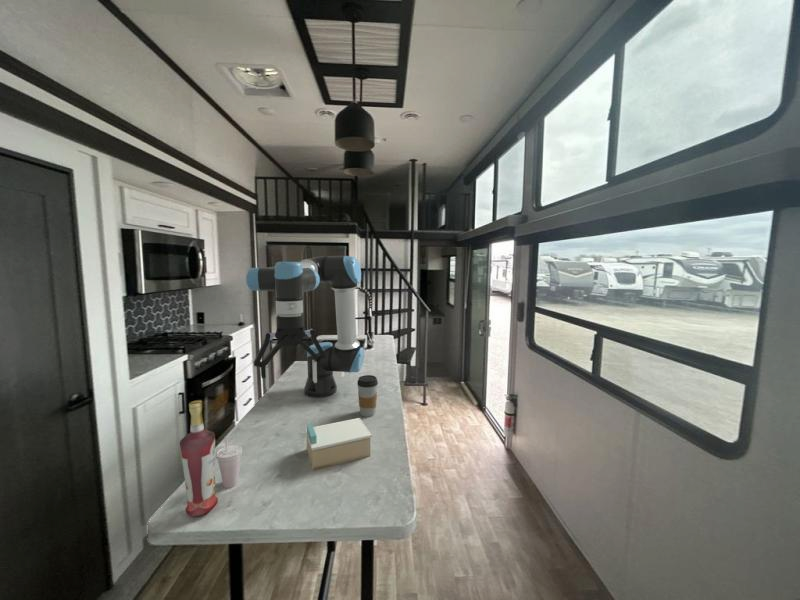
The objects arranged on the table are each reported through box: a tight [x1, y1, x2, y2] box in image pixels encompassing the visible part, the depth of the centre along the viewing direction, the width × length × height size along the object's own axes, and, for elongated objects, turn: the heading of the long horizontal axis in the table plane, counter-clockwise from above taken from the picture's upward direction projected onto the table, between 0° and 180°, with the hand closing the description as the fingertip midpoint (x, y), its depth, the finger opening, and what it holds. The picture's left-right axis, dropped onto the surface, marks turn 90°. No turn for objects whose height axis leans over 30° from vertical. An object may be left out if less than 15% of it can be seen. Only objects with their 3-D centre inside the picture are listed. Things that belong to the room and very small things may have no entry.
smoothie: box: [215, 435, 243, 489], centre depth 91 cm, size 6×6×14 cm
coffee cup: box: [357, 374, 379, 418], centre depth 134 cm, size 8×8×15 cm
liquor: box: [179, 399, 219, 517], centre depth 80 cm, size 7×7×28 cm
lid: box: [304, 417, 373, 451], centre depth 106 cm, size 13×19×3 cm
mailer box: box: [305, 435, 371, 471], centre depth 106 cm, size 12×18×6 cm, turn 115°
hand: (291, 384), depth 98 cm, fingers open, 13 cm apart
